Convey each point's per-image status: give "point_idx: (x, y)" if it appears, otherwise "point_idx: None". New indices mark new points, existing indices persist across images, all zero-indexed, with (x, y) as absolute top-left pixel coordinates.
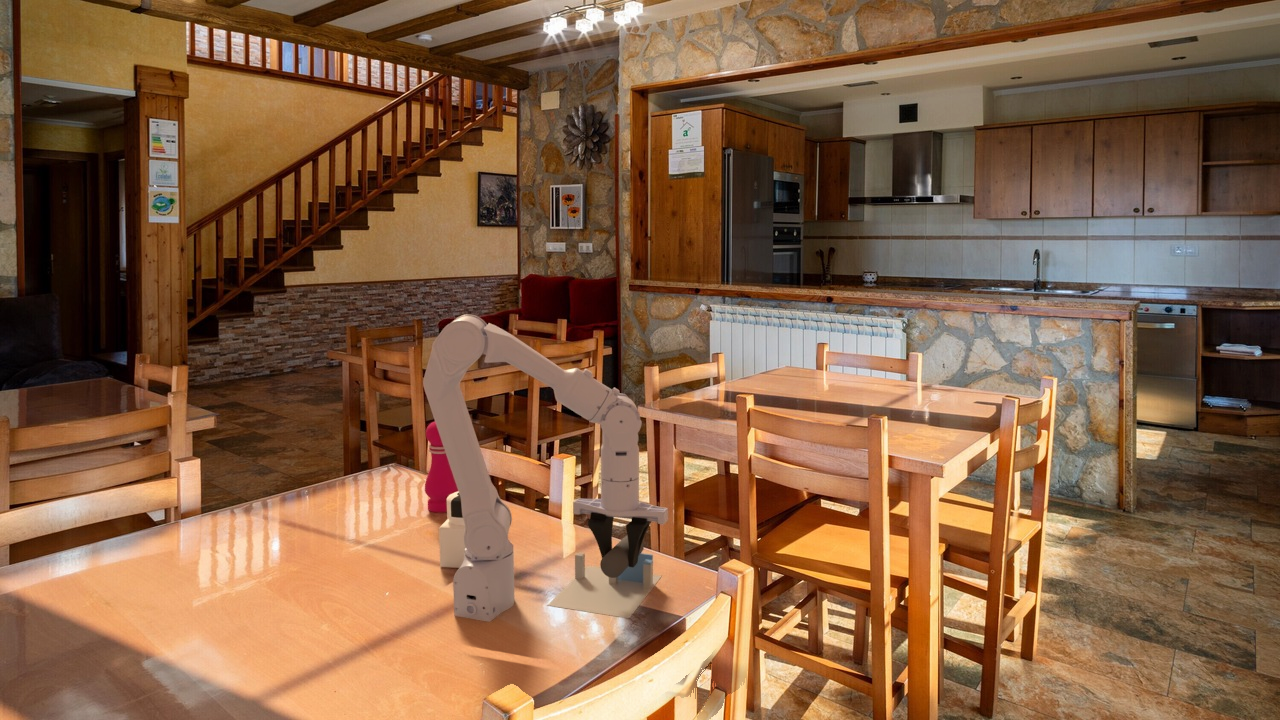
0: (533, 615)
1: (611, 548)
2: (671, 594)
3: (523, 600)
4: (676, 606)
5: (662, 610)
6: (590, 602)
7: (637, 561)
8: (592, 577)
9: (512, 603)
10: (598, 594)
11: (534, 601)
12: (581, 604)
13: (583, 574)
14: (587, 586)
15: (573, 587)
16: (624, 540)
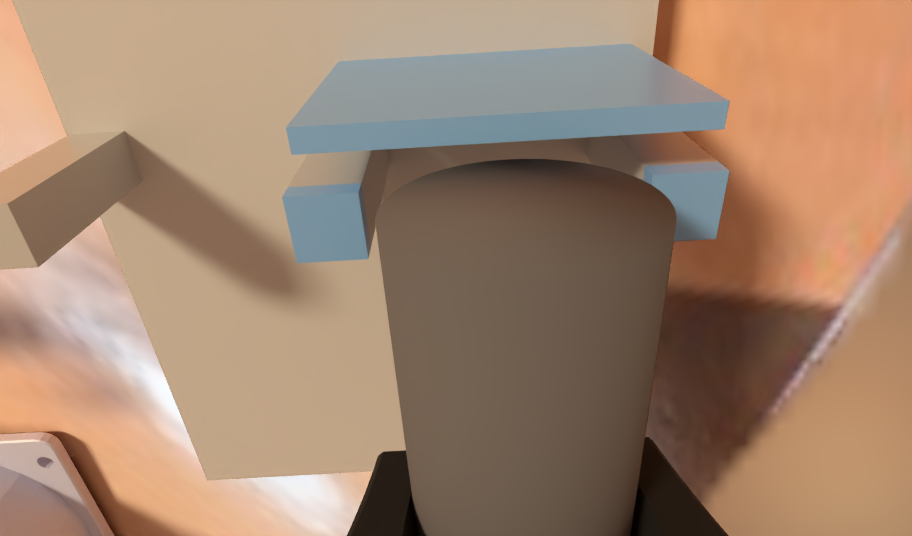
0: (197, 503)
1: (406, 528)
2: (763, 82)
3: (46, 426)
4: (804, 224)
5: (730, 290)
6: (371, 403)
7: (658, 450)
8: (177, 119)
9: (72, 528)
10: (361, 320)
11: (97, 418)
12: (343, 431)
13: (119, 164)
14: (242, 256)
15: (178, 297)
16: (516, 510)
